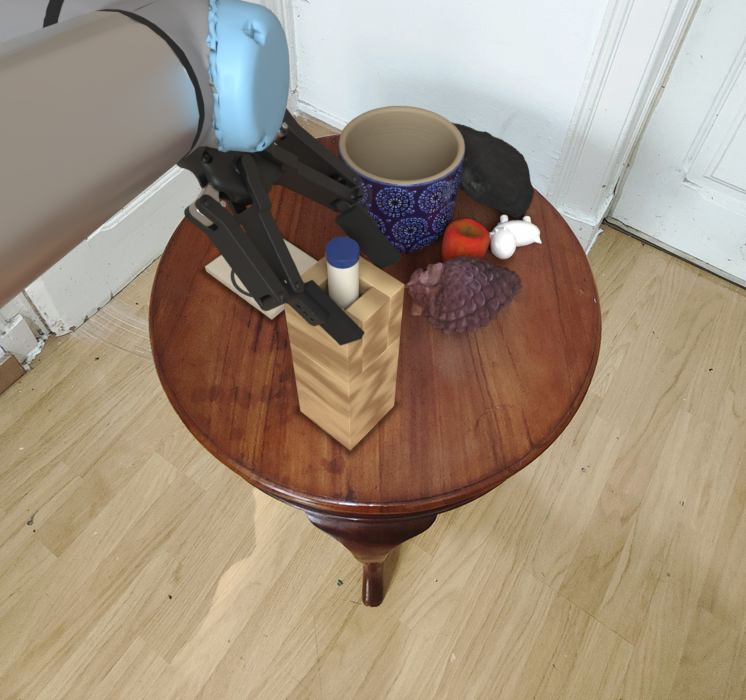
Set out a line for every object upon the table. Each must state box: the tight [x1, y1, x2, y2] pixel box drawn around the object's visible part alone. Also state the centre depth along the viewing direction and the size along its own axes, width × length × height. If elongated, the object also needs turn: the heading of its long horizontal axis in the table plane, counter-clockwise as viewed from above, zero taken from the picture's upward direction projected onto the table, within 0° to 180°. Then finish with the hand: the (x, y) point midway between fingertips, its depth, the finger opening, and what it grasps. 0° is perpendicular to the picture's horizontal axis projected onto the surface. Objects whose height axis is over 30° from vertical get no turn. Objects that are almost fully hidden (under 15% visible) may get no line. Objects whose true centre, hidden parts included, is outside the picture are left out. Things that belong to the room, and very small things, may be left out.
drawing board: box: [204, 238, 319, 320], centre depth 88 cm, size 11×13×1 cm
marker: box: [324, 236, 360, 311], centre depth 59 cm, size 3×3×13 cm
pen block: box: [284, 255, 405, 451], centre depth 67 cm, size 8×8×22 cm
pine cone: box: [404, 256, 523, 336], centre depth 81 cm, size 18×10×10 cm
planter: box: [337, 105, 465, 255], centre depth 88 cm, size 16×17×15 cm
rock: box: [450, 121, 535, 221], centre depth 92 cm, size 16×14×7 cm
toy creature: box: [489, 214, 543, 260], centre depth 90 cm, size 5×8×6 cm
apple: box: [441, 218, 491, 263], centre depth 86 cm, size 6×6×8 cm
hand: (372, 299), depth 57 cm, fingers closed on pen block, 9 cm apart
